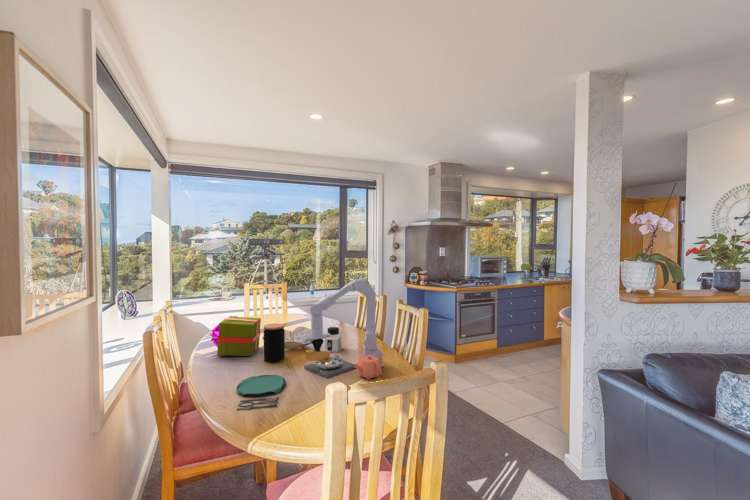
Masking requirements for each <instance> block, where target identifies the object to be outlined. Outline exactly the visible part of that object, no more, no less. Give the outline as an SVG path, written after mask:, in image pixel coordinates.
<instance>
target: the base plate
mask: <svg viewBox="0 0 750 500" xmlns="http://www.w3.org/2000/svg"><path fill="white" fill-rule="evenodd" d="M354 366H355V364H354V363H352V362H348V361H345V360H342V366H340V367H338V368H334V369H323V368H320V367H318V361H313V362H311V363H308V364H305V365H304V366H303V369H304V370H307V371H310V372H311V373H314V374H317V375H318V376H322V377H323V378H326V379H329V378H332V377H334V376H338V375H340V374H342V373H346V372H349V371H351V370H354V369H356V368H355V367H354Z"/></svg>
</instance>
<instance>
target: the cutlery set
mask: <svg viewBox="0 0 750 500" xmlns="http://www.w3.org/2000/svg"><path fill="white" fill-rule="evenodd" d="M286 383H287V382H286V379H285V378H284V376H282V375H279V374H263V375H262V374H261V375H253V376H250V377H247V378H244V379H243V380H241V381H240V382H239V383H238V385H236V391H237V393H238V395H241V396H243V397H244V396H263V395H268V394H272V393H275V394H278V393H280V392H281V391H282V389H283V387H284V386H285V385H286ZM256 401H258V402H256ZM278 402H279V396H276V397H275V396H274V397H260V398H250V399H241V400H240V401H239V403H238V406H239V408H236V411H237V412H238V411H249V410H250V411H251V410H253V409H263V408H264V409H265V408H272V407H278ZM264 403H265V404H266V403H272V404H266V405H259V404H264ZM245 404H248V405H245ZM254 405H255V406H254Z"/></svg>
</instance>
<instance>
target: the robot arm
mask: <svg viewBox="0 0 750 500" xmlns="http://www.w3.org/2000/svg"><path fill="white" fill-rule="evenodd" d="M355 291H356V292H358V293H360V294H362V295H363V296H364V297H365V298H366V317H365V318H366V324H365V325H366V326H365V335H364V337H363V338H364V341H363V347H362V352H363V353H362V355H363V356H362V357H365V356H368V355H371V356H373V357H378V356H379V357H381V368H382V367H384V364H383V352H382V351H381V350H380V349H379V347H378V345H377V343H378V341H377V339H378V338H377V334H376V305H377V304H376V303H377V301H376V299H377V298H376V297H377V294H376V291H375V289H374V288H373V287H372V285H371V283H370V282H369V281H368V280H367V279H366V278H364V277H358V278H356V279H355V280H352V281H351V282H349V283H347V284H346V285H344V286H343V287H341V288H340V289H339V290H338V291H337V290H336V292H334V293H333V294H332V293H328V294H327V293H326V294H325V295H324V297H322V298H321V299H319V300H316V302H314V303H313V304H312V305H311V307H310V309H309V312H310V314H311V317H310V322H311V323H310V332H311V333H310V334H311V335H310V336H309V335H308V336H306V337H304V338H303V341H302V343H304V344H305V343H306V344H307V343H309V342H311V345H312V346H313V348H314V349H313V350H317V351H321V348H322V346H323V345H324V343H325V338H330V334H329V333H328V332H327V333H324V328H323V327H324V324H323V323H324V319H323V311H327V310H328V309H330V308H331V307H333V305H335V304H336V303H337V300H338V299H340V298H341V297H343V296H345V295H346V294H348V293H350V292H351V293H352V292H355Z"/></svg>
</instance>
